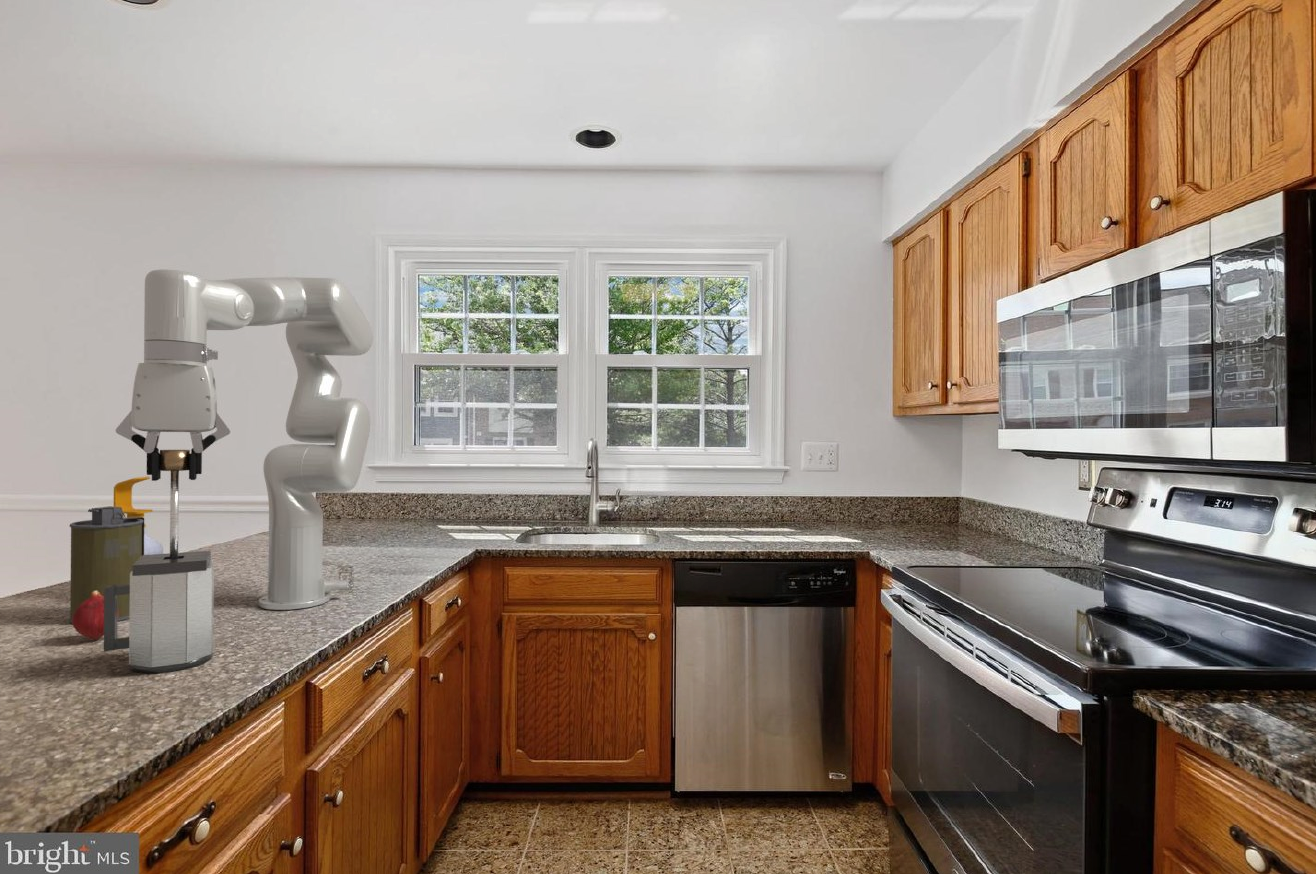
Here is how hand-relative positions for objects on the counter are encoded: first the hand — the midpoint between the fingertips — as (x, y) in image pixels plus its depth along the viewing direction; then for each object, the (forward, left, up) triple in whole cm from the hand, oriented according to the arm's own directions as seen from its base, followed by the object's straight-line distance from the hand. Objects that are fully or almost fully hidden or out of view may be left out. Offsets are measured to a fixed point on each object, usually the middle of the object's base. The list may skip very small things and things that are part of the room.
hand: (174, 478), depth 100 cm
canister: (+13, -34, -27) cm, 46 cm away
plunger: (0, 0, -15) cm, 15 cm away
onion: (+12, -18, -27) cm, 35 cm away
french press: (+1, 0, -27) cm, 27 cm away
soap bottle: (+11, -48, -27) cm, 56 cm away
